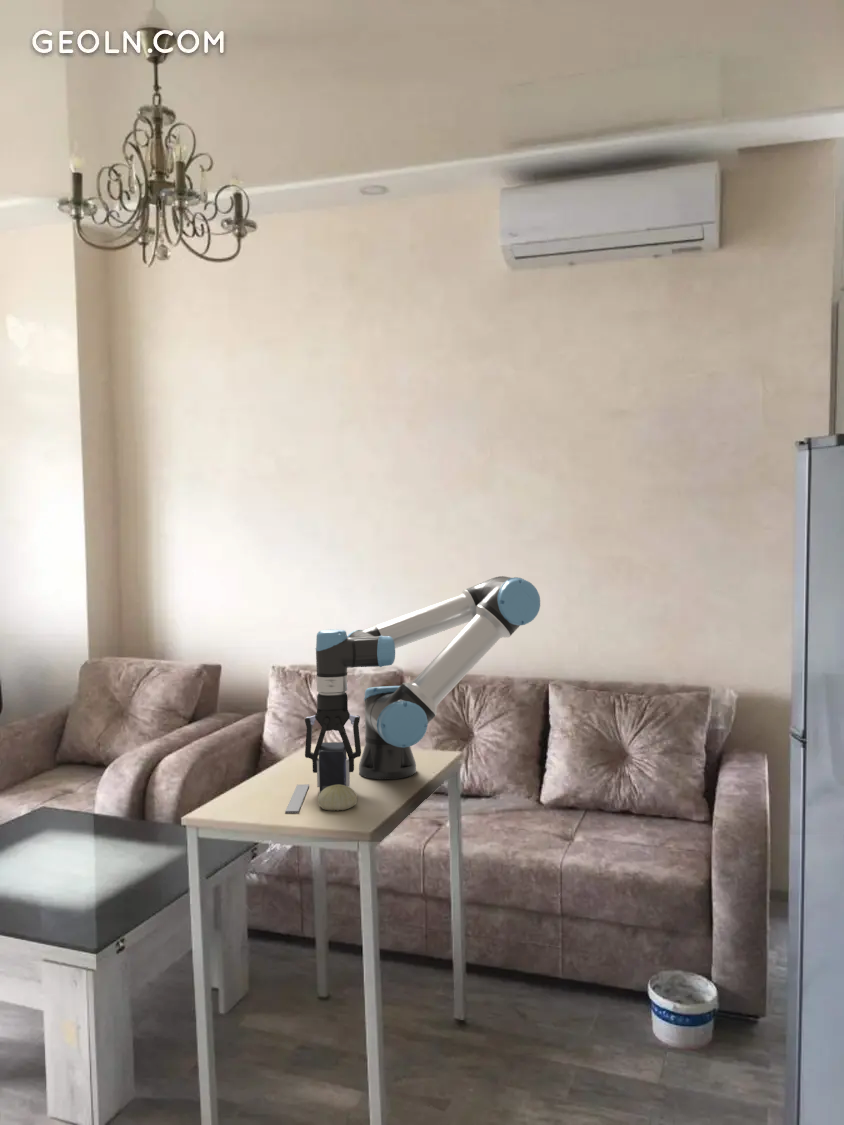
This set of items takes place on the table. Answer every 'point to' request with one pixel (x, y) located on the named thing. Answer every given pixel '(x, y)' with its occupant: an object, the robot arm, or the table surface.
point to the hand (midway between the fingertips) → (333, 785)
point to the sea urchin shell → (337, 797)
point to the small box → (332, 764)
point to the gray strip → (297, 799)
